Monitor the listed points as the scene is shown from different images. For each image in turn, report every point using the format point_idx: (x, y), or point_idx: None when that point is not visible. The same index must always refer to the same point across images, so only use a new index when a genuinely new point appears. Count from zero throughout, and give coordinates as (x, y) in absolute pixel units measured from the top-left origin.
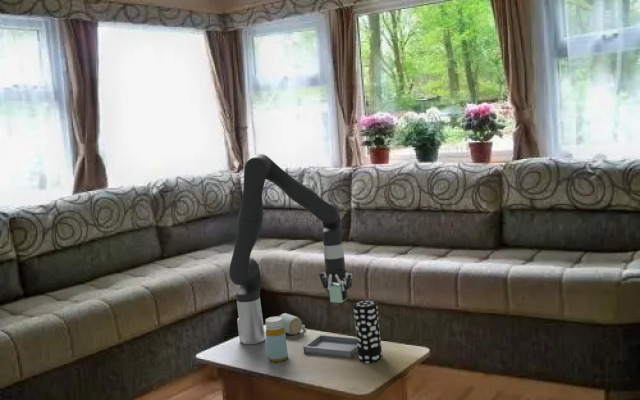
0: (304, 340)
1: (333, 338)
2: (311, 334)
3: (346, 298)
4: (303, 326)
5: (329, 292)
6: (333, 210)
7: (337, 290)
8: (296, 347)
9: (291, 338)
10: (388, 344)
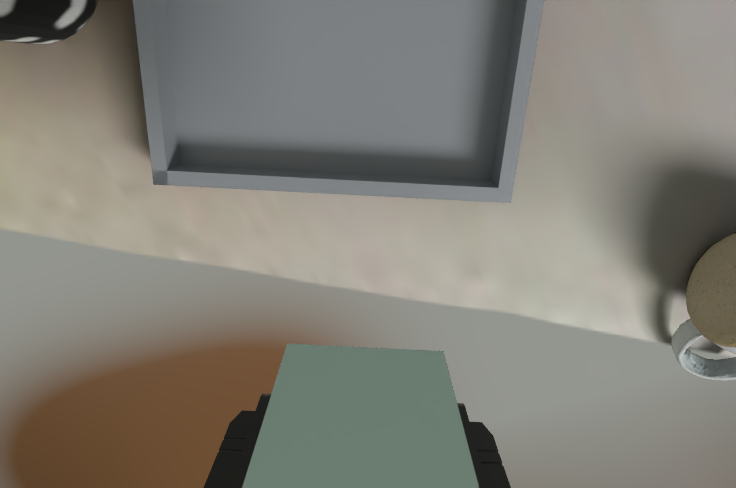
0: (611, 179)
1: (396, 179)
2: (597, 279)
3: None
4: (683, 340)
5: (495, 486)
6: None
7: (301, 478)
8: (629, 47)
9: (714, 196)
10: (54, 213)
